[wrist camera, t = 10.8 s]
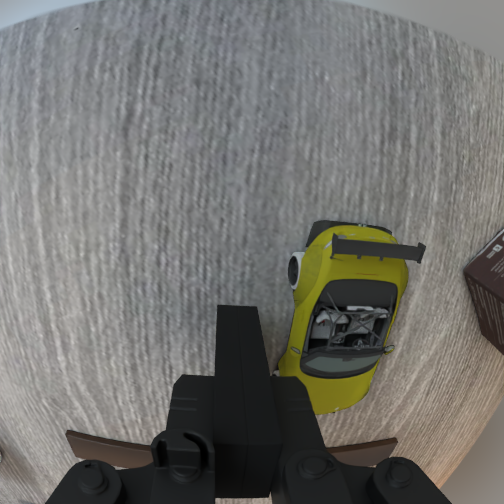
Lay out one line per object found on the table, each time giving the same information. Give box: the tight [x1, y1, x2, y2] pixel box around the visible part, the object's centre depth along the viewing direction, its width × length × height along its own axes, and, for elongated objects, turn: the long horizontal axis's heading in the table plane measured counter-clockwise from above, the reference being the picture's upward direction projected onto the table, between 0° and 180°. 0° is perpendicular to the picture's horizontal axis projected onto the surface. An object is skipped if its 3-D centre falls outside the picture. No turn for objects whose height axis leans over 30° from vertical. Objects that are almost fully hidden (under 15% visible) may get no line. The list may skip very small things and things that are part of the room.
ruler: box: [65, 430, 398, 469], centre depth 17 cm, size 3×22×1 cm, turn 85°
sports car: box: [272, 220, 426, 415], centre depth 13 cm, size 5×10×3 cm, turn 174°
